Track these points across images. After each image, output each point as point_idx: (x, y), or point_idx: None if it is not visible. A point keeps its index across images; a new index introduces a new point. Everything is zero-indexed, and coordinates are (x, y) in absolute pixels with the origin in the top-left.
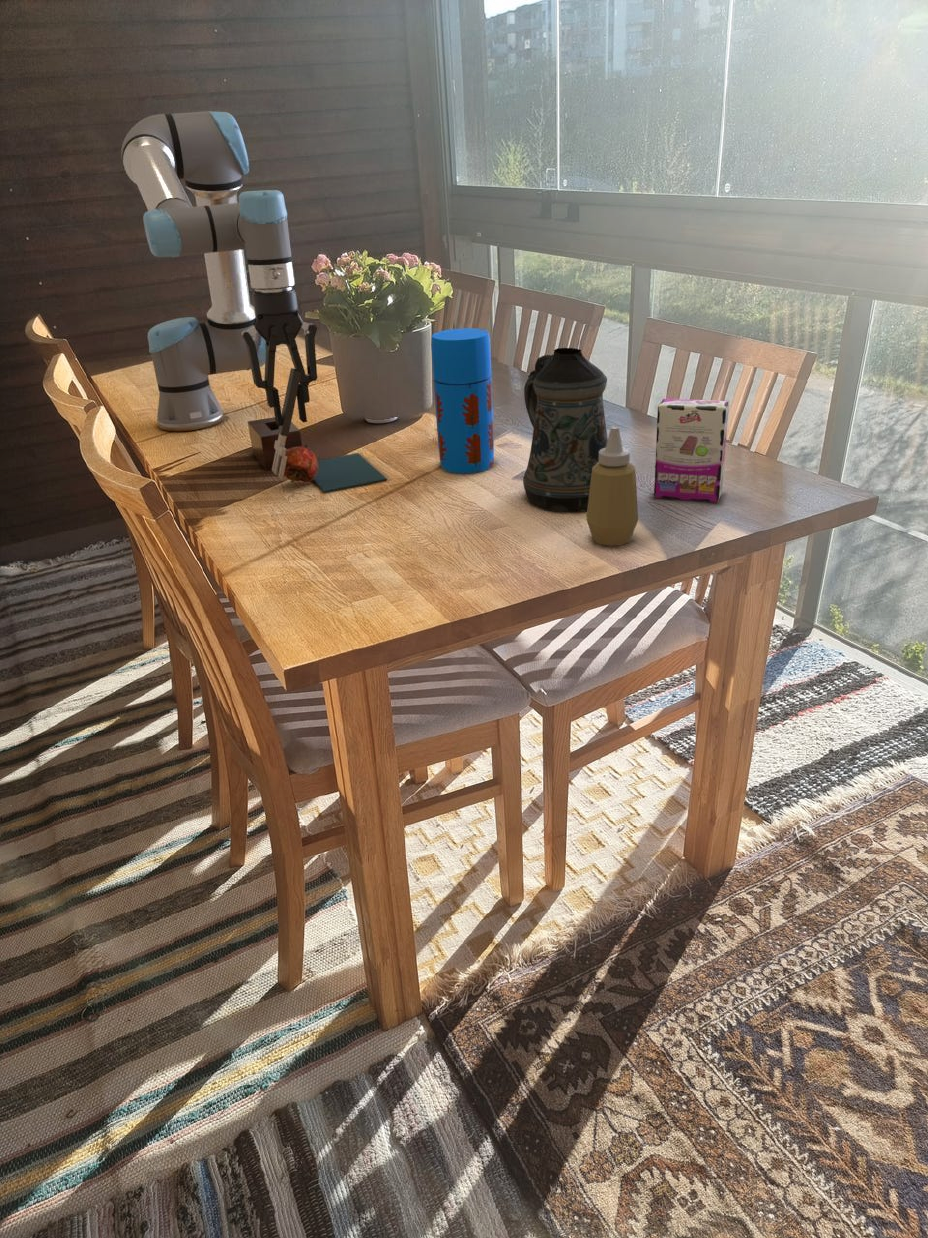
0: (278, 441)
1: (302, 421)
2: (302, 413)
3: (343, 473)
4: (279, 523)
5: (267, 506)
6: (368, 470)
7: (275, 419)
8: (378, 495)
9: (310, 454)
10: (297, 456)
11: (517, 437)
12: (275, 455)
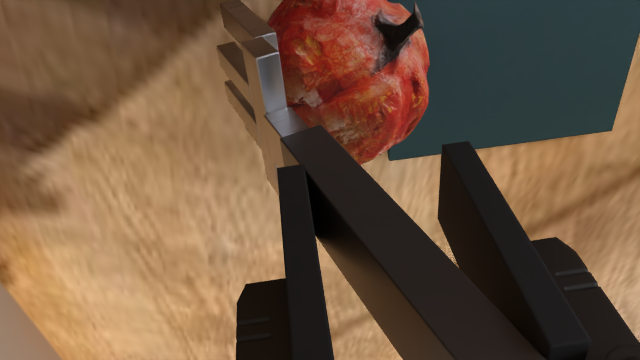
0: (271, 137)
1: (438, 209)
2: (457, 258)
3: (514, 14)
4: (229, 301)
5: (195, 197)
6: (611, 23)
7: (278, 185)
8: (521, 223)
9: (406, 126)
10: None
11: None
12: (243, 92)
